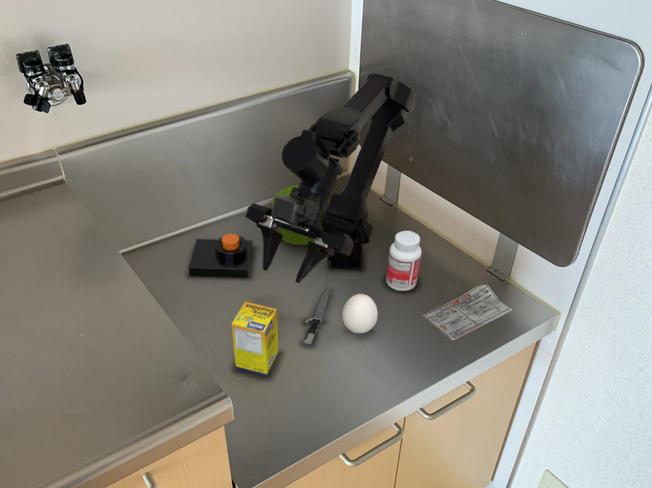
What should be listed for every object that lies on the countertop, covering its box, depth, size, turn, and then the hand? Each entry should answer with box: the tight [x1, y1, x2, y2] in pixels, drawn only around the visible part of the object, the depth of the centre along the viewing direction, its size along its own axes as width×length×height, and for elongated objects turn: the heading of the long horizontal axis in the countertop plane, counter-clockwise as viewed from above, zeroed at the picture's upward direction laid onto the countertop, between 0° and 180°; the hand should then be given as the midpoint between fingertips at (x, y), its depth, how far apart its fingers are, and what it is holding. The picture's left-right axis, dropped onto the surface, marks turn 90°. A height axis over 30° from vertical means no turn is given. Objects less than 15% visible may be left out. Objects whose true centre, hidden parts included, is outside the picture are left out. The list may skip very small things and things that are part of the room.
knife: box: [303, 289, 330, 345], centre depth 115 cm, size 15×1×3 cm
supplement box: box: [231, 301, 280, 377], centre depth 104 cm, size 6×6×11 cm
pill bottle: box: [385, 230, 423, 292], centre depth 120 cm, size 6×6×11 cm
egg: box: [341, 293, 379, 334], centre depth 111 cm, size 6×6×8 cm
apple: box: [270, 184, 330, 246], centre depth 132 cm, size 12×12×11 cm
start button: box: [221, 233, 240, 250], centre depth 126 cm, size 4×4×2 cm
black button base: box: [188, 235, 254, 279], centre depth 127 cm, size 12×10×4 cm
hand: (280, 276), depth 103 cm, fingers open, 6 cm apart
